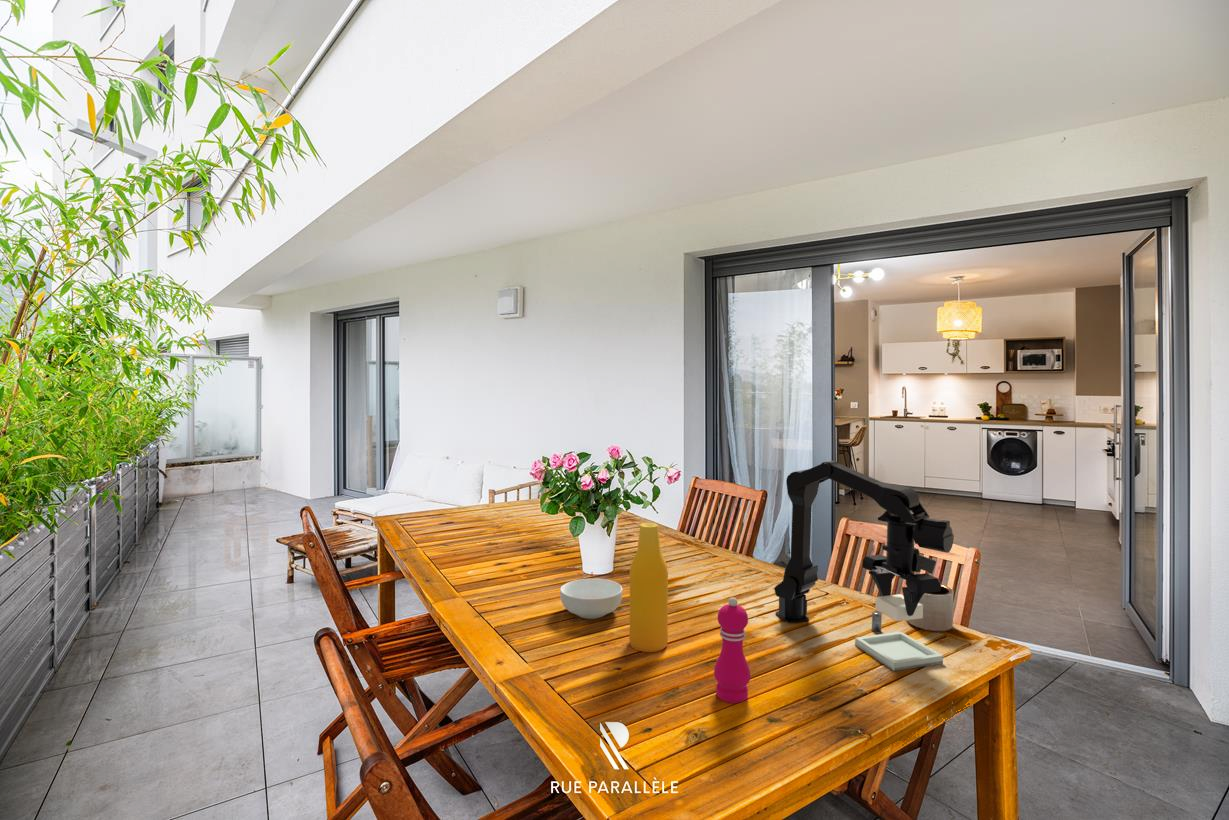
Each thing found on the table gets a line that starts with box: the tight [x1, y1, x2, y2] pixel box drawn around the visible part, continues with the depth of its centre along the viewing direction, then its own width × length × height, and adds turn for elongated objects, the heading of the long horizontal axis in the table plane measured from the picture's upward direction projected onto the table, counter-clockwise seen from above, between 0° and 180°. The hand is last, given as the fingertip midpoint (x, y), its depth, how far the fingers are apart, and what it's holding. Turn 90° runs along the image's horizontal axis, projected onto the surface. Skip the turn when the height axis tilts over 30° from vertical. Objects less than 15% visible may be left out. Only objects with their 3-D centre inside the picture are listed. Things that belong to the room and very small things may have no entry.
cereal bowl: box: [559, 578, 624, 620], centre depth 161 cm, size 17×17×7 cm
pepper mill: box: [713, 596, 751, 704], centre depth 119 cm, size 7×7×20 cm
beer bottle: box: [628, 522, 669, 653], centre depth 141 cm, size 9×9×29 cm
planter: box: [906, 583, 954, 633], centre depth 153 cm, size 11×11×10 cm
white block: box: [874, 593, 923, 622], centre depth 136 cm, size 7×7×3 cm
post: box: [871, 611, 883, 634], centre depth 149 cm, size 2×2×4 cm
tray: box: [854, 631, 944, 672], centre depth 137 cm, size 13×13×2 cm
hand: (898, 609), depth 136 cm, fingers closed on white block, 7 cm apart
